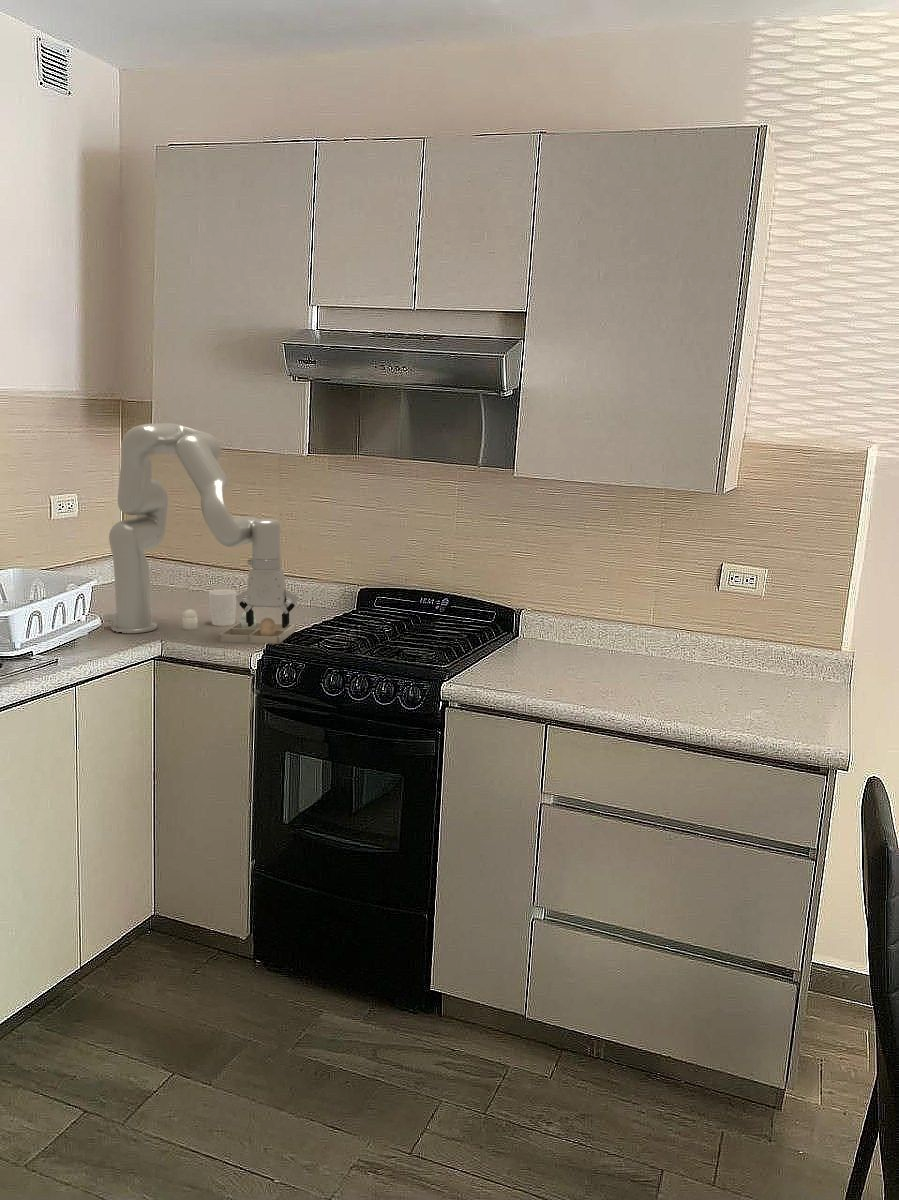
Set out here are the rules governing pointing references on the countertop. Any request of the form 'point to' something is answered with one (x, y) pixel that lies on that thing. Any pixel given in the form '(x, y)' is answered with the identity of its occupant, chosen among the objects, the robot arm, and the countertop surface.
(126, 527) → the robot arm
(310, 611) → the countertop surface
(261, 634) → the brown egg
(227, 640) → the egg tray
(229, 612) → the white cup
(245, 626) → the green egg
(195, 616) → the white egg
